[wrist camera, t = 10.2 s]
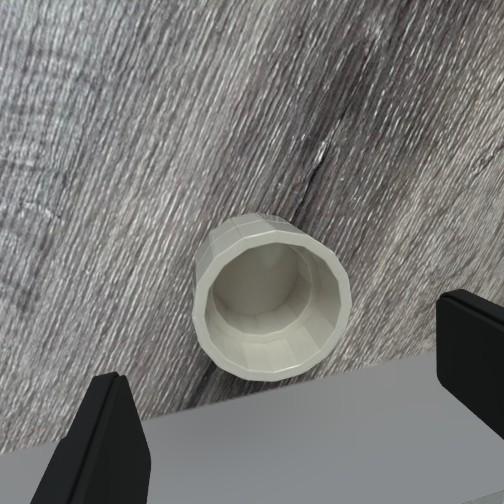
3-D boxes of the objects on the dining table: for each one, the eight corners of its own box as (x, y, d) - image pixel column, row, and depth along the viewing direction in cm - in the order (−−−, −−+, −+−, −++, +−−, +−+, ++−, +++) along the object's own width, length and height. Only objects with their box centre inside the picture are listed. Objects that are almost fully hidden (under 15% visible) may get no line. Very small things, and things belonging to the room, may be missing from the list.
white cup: (320, 222, 19) (369, 244, 14) (295, 328, 20) (330, 386, 15) (203, 202, 18) (206, 218, 12) (185, 317, 19) (182, 376, 14)
